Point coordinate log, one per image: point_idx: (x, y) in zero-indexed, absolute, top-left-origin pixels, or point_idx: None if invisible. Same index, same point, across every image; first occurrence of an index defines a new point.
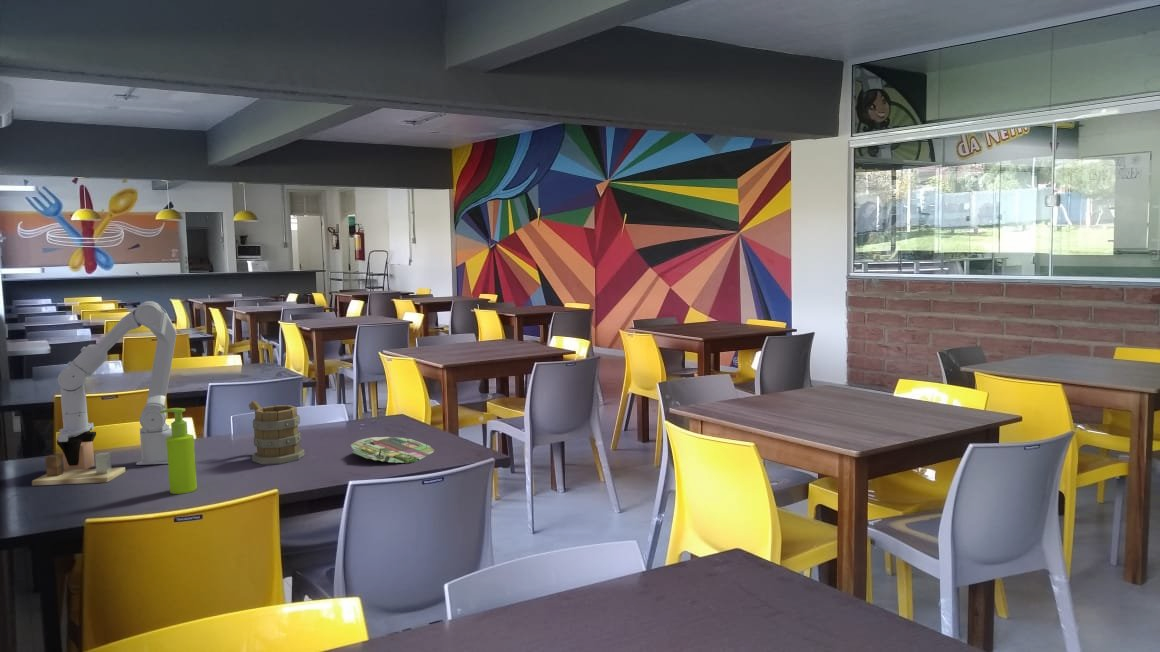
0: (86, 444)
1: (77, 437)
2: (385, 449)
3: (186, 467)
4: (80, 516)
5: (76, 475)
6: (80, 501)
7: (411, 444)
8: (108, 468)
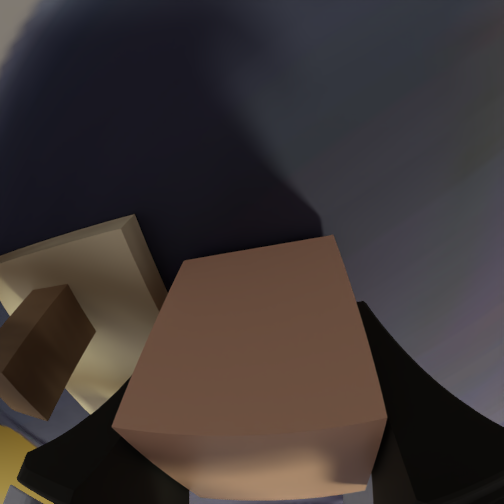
0: (257, 498)
1: (396, 496)
2: None
3: None
4: (14, 427)
5: (102, 390)
6: (32, 420)
7: None
8: None
